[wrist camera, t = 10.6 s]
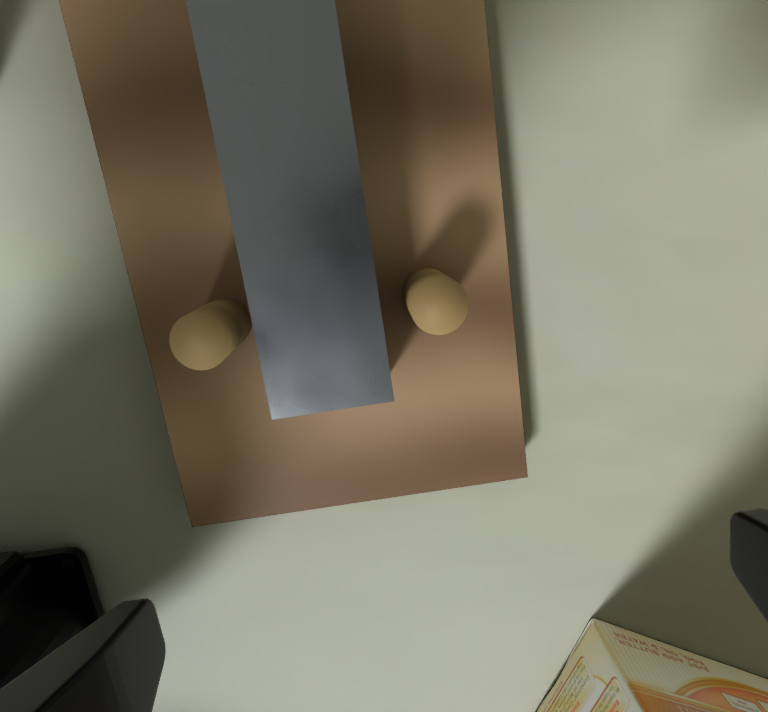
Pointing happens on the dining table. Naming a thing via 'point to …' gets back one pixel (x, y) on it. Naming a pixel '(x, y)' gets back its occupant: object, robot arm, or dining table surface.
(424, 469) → the tool rest
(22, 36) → the dining table surface
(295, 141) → the grey ball-topped bar
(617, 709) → the coffeecake box
